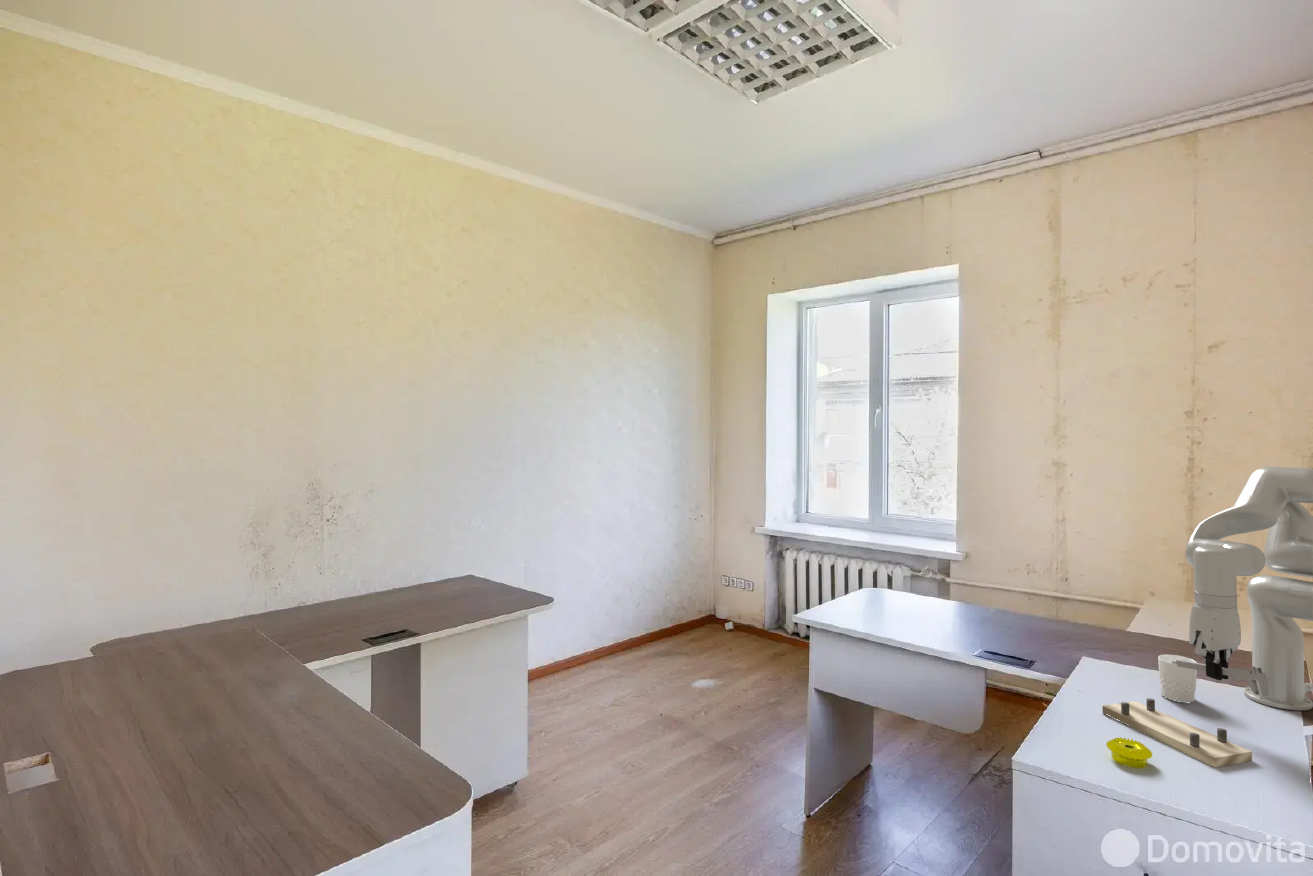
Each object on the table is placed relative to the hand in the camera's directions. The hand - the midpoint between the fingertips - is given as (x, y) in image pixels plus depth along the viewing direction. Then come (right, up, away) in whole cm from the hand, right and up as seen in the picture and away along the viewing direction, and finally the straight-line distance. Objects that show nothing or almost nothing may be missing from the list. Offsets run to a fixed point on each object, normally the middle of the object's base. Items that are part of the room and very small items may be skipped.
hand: (1217, 677), depth 151 cm
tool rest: (-13, -12, -3) cm, 18 cm away
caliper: (0, -1, 0) cm, 1 cm away
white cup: (+4, -12, +16) cm, 20 cm away
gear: (-30, -13, -13) cm, 36 cm away
